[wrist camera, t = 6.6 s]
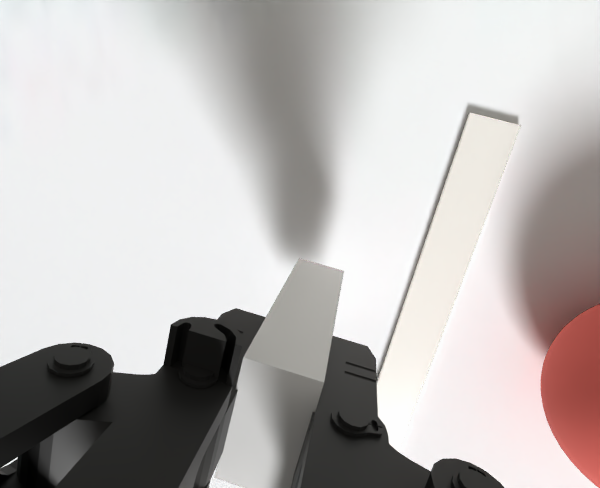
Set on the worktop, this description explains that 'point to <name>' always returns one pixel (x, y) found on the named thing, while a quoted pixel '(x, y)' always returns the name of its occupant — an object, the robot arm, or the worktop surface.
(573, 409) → the ball
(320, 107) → the worktop surface
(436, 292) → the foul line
